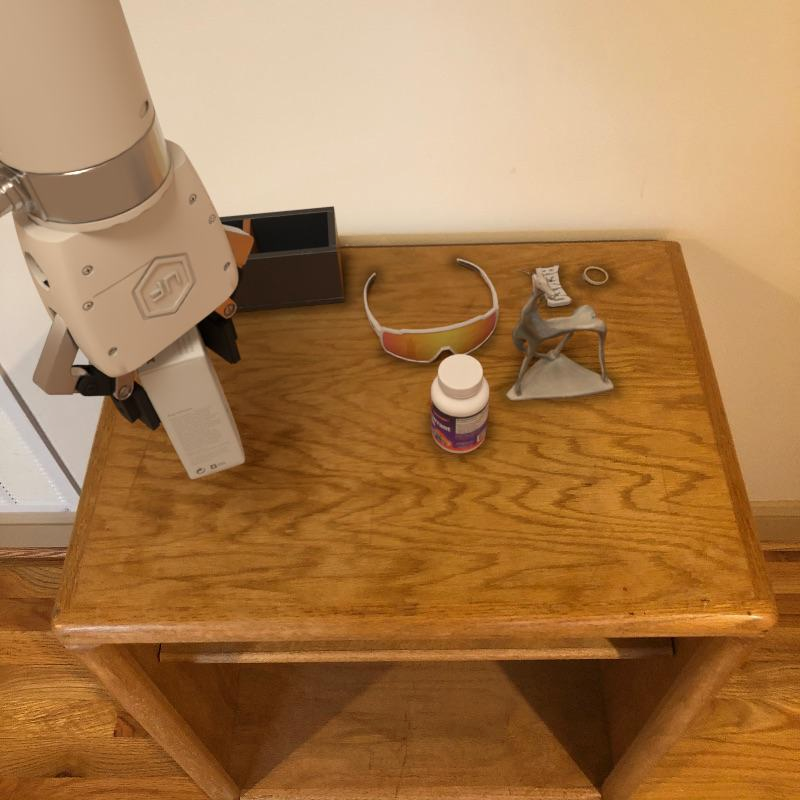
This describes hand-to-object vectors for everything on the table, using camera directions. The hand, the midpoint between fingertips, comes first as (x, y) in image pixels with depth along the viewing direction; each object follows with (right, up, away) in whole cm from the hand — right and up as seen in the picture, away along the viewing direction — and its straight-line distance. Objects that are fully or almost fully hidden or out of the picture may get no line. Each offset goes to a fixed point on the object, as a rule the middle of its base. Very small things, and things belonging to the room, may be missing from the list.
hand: (183, 382), depth 52 cm
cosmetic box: (0, -4, +6) cm, 7 cm away
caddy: (-2, +12, +38) cm, 40 cm away
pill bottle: (+20, -4, +25) cm, 32 cm away
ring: (+36, +13, +36) cm, 53 cm away
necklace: (+31, +11, +36) cm, 48 cm away
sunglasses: (+18, +8, +34) cm, 40 cm away
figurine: (+31, +1, +29) cm, 42 cm away
